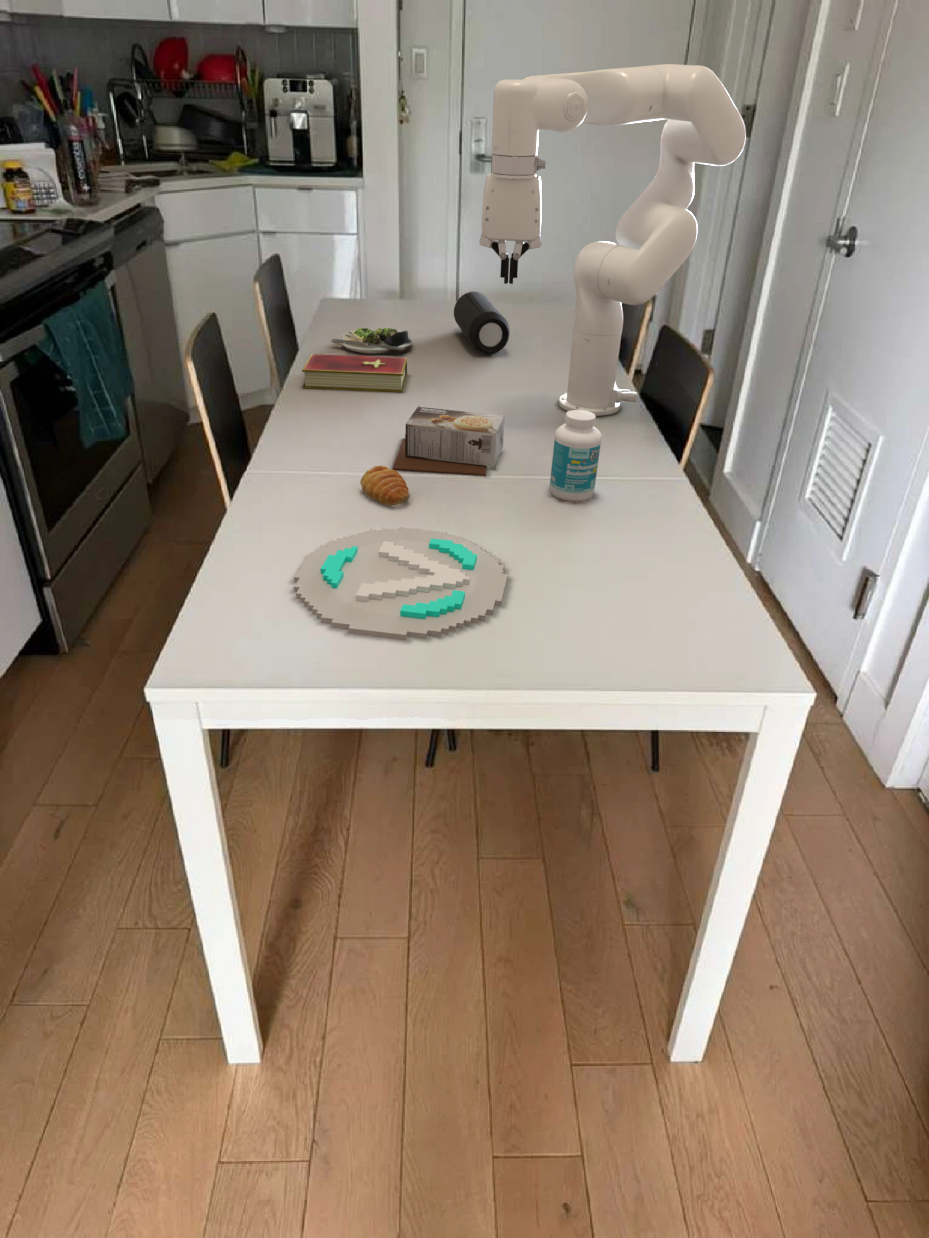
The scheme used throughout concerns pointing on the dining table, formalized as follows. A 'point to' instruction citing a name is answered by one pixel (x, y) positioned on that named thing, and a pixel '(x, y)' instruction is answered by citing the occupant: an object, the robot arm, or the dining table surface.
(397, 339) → the salad plate
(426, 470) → the mat
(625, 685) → the dining table surface
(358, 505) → the dining table surface
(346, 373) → the hardcover book
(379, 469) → the pastry
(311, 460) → the dining table surface
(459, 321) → the portable speaker
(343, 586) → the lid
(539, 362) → the dining table surface
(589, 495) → the pill bottle
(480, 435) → the coffee box
